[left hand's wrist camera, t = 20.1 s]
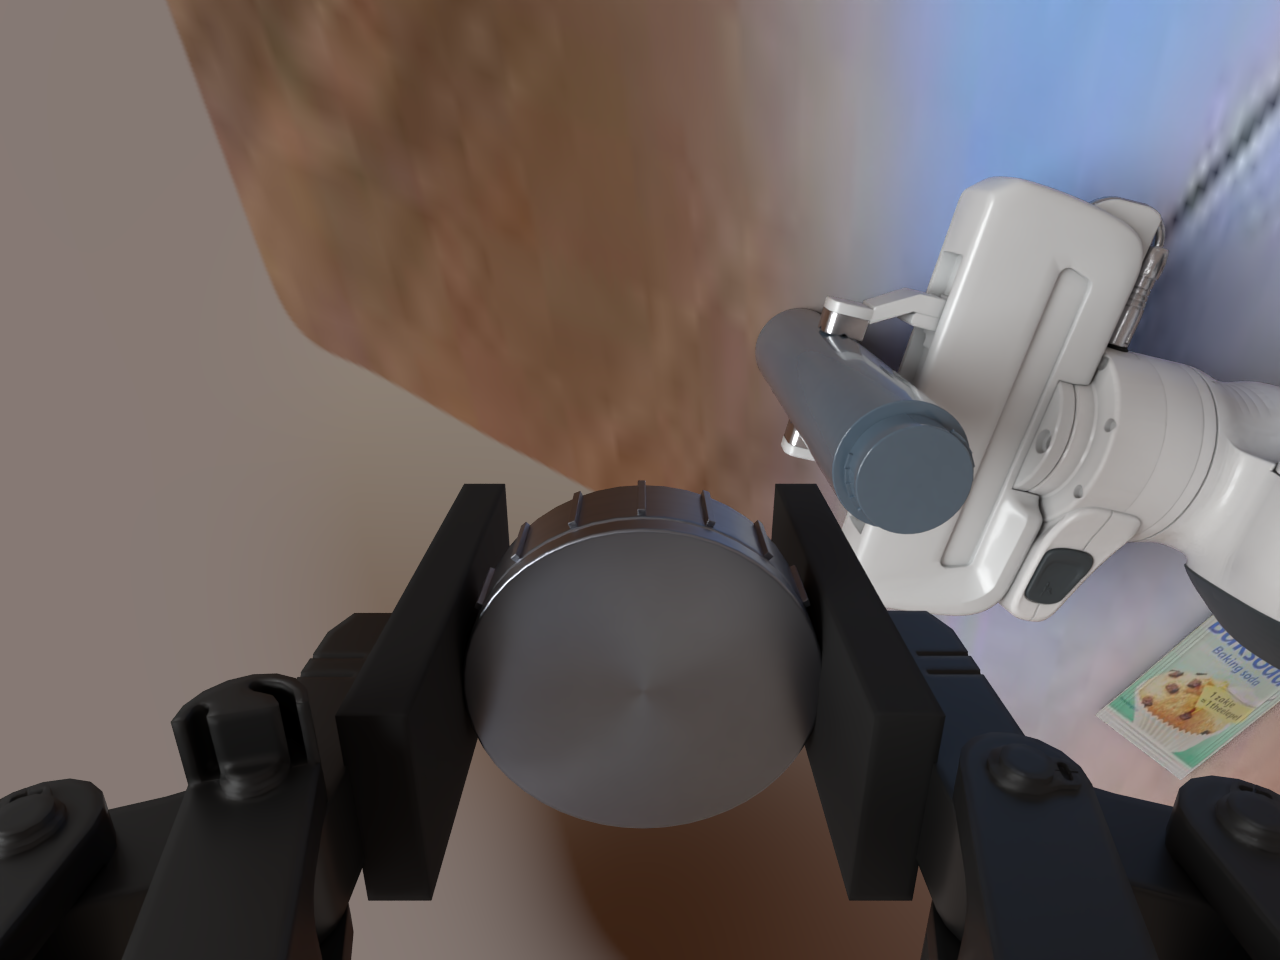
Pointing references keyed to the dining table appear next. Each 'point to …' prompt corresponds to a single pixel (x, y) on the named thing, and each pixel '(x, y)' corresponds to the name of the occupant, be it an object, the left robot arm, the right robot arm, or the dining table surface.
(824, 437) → the dark grey cylinder
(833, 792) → the left robot arm
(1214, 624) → the baking ingredient package
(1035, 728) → the dining table surface
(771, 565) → the lid
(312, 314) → the dining table surface
